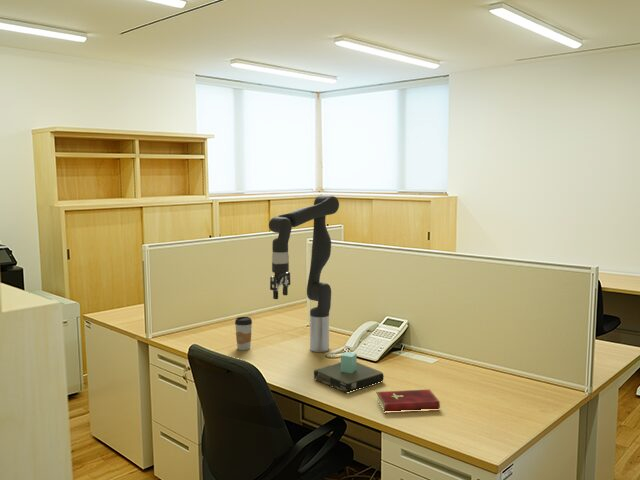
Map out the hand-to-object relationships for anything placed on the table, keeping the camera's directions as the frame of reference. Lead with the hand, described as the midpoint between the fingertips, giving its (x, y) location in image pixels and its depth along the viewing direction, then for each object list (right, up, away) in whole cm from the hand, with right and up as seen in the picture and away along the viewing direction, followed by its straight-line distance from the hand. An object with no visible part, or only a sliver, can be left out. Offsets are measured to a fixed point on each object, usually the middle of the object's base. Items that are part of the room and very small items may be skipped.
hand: (280, 297), depth 260 cm
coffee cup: (-20, -28, +23) cm, 41 cm away
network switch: (+30, -34, -20) cm, 49 cm away
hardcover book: (+50, -37, -45) cm, 77 cm away
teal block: (+30, -29, -20) cm, 46 cm away
